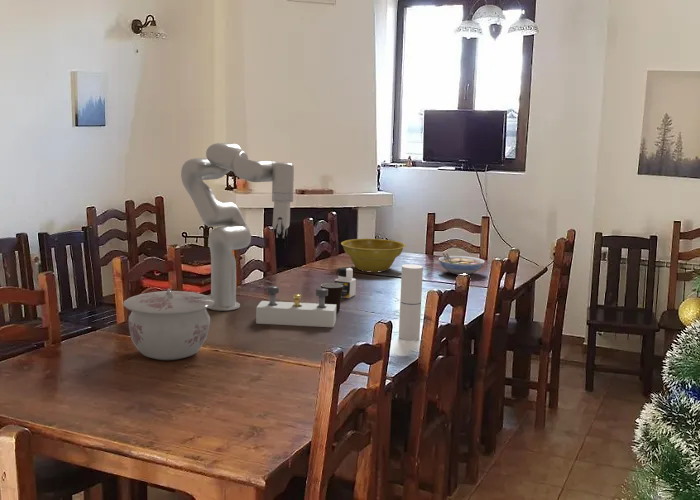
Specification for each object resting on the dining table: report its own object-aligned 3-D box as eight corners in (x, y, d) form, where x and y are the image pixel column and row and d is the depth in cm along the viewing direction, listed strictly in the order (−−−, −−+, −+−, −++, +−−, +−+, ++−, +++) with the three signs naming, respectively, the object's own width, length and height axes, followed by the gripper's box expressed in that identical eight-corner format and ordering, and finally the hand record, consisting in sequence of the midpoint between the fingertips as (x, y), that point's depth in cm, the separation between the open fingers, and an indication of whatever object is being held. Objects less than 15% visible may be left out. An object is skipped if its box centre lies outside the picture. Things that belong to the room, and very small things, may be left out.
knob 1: (265, 308, 275) (265, 288, 274) (267, 305, 280) (267, 285, 278) (277, 309, 275) (277, 288, 274) (279, 306, 279) (279, 286, 278)
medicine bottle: (333, 296, 320) (334, 268, 318) (340, 293, 327) (341, 265, 325) (349, 298, 317) (350, 270, 315) (355, 295, 324) (356, 267, 322)
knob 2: (314, 310, 274) (315, 290, 273) (316, 307, 279) (316, 288, 277) (326, 311, 274) (327, 291, 273) (328, 308, 278) (328, 288, 277)
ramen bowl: (488, 280, 364) (489, 263, 363) (440, 278, 364) (441, 262, 363) (479, 270, 389) (480, 254, 387) (435, 268, 389) (436, 253, 388)
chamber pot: (169, 374, 217) (169, 303, 213) (104, 356, 231) (102, 289, 228) (234, 351, 240) (234, 287, 237) (171, 336, 254) (170, 275, 251)
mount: (256, 323, 274) (256, 307, 273) (261, 316, 284) (261, 300, 283) (333, 327, 272) (333, 311, 271) (335, 320, 282) (336, 304, 281)
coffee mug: (339, 313, 291) (340, 288, 289) (317, 312, 293) (318, 286, 291) (345, 307, 302) (346, 282, 301) (324, 305, 304) (325, 280, 302)
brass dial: (292, 309, 275) (292, 295, 275) (293, 307, 278) (293, 294, 278) (300, 309, 275) (300, 296, 274) (301, 307, 278) (301, 294, 277)
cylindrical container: (405, 341, 257) (409, 268, 253) (394, 335, 264) (398, 265, 259) (423, 339, 261) (427, 267, 256) (412, 333, 267) (415, 263, 263)
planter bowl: (383, 279, 358) (384, 251, 356) (327, 270, 376) (328, 243, 373) (415, 269, 385) (417, 243, 383) (362, 261, 402) (363, 236, 400)
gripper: (276, 194, 279) (275, 243, 282) (267, 199, 262) (267, 251, 265) (296, 195, 279) (295, 244, 282) (289, 200, 262) (288, 252, 265)
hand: (281, 247), depth 274 cm, fingers open, 4 cm apart
